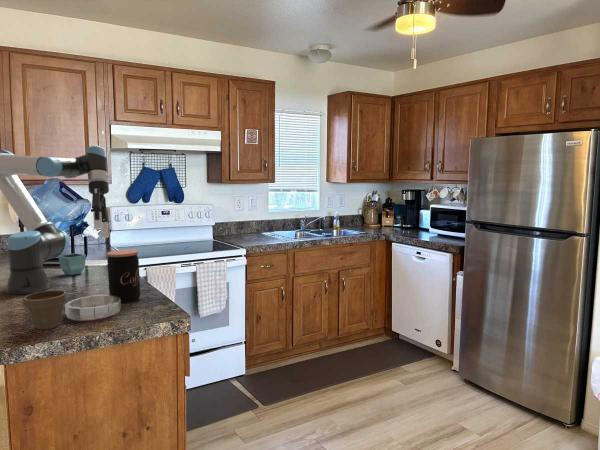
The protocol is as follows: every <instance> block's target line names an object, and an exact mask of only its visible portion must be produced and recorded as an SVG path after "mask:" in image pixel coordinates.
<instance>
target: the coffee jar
mask: <svg viewBox="0 0 600 450" xmlns="http://www.w3.org/2000/svg"><path fill="white" fill-rule="evenodd" d="M106 254H107V257H108V258H107V276H108V279H107V280H108V292H109V294H108V295H114V296H117V297H119V298H120V300H121V305H123V304H129V303H130V304H131V303H133V302H137V301H138V300H139V299H141V298H140V297H141V279H140V260H139V256H138V254H139V250H137V249H117V250H116V249H115V250H112V251H108V252H107V253H106Z"/></svg>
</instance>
